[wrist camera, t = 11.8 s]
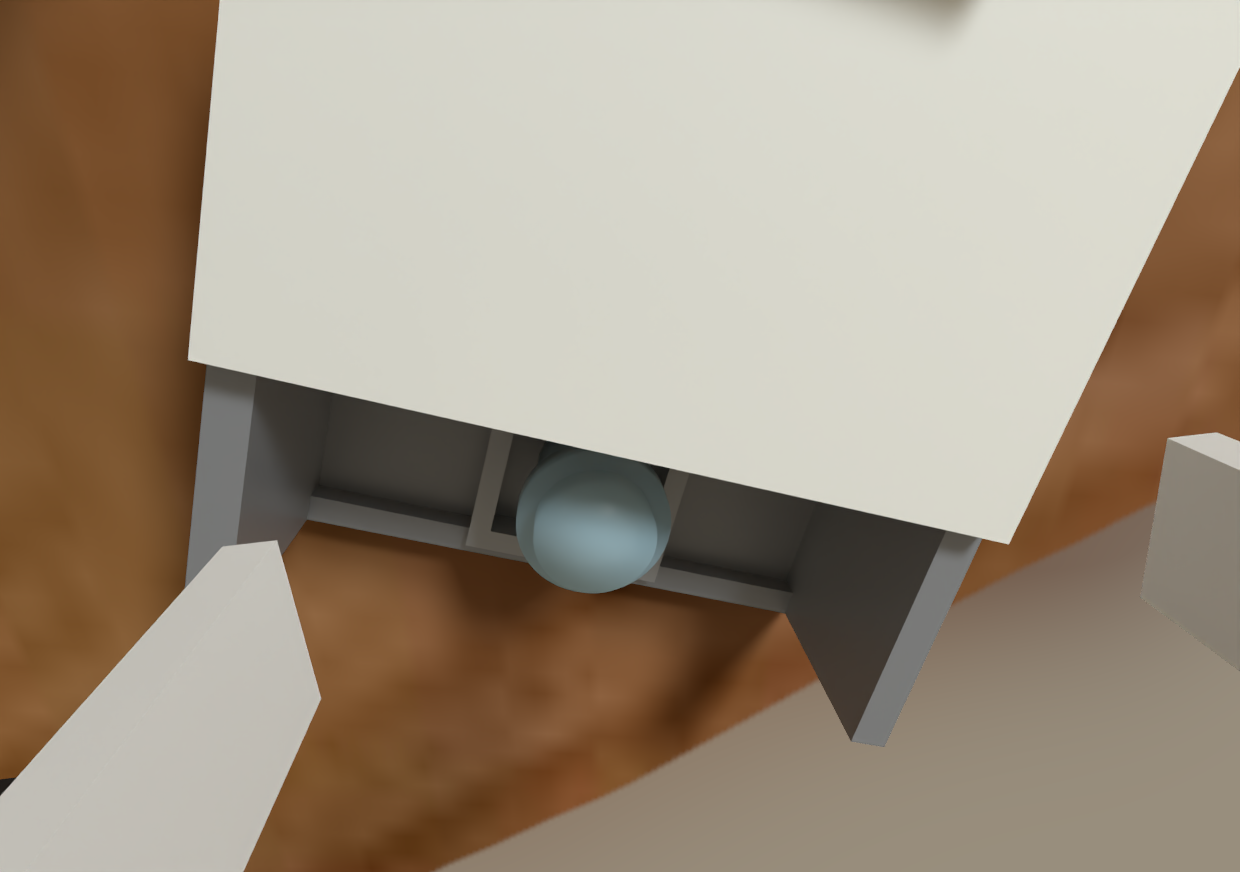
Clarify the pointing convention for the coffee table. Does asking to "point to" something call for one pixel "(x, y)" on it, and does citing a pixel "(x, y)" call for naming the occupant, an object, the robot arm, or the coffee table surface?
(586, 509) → the peg
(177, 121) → the coffee table surface
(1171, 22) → the lid
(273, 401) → the housing
